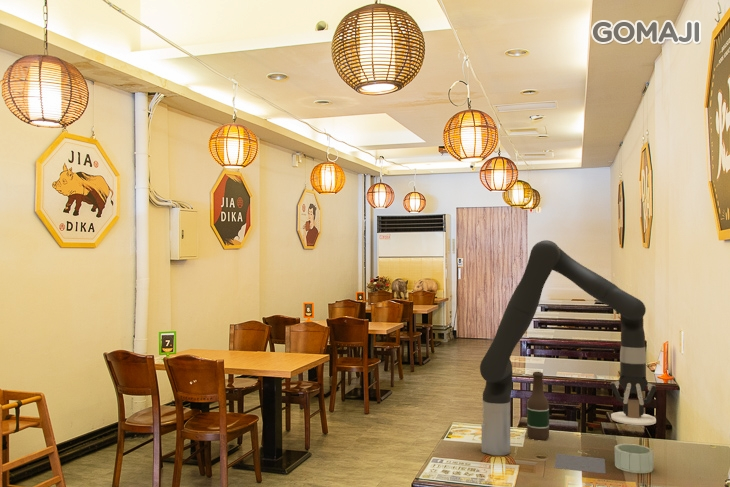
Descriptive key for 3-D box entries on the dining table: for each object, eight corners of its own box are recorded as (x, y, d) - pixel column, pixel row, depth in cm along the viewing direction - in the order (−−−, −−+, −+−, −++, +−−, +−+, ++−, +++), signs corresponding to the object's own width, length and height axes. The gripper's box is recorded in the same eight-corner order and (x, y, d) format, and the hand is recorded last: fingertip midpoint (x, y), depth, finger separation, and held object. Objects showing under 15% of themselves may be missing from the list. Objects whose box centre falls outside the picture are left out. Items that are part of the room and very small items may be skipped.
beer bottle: (550, 441, 226) (549, 374, 227) (527, 440, 228) (527, 373, 228) (548, 435, 234) (547, 370, 234) (526, 434, 235) (526, 370, 236)
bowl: (615, 471, 194) (615, 452, 194) (614, 461, 205) (614, 442, 205) (654, 476, 190) (654, 456, 191) (651, 464, 201) (651, 446, 201)
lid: (611, 423, 194) (611, 403, 194) (610, 413, 206) (610, 394, 206) (658, 427, 189) (657, 407, 190) (654, 416, 202) (653, 398, 202)
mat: (554, 469, 197) (554, 467, 197) (556, 454, 211) (556, 453, 211) (605, 474, 191) (605, 473, 191) (604, 459, 206) (604, 458, 206)
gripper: (609, 361, 197) (609, 416, 197) (658, 364, 192) (659, 420, 192) (608, 357, 204) (609, 411, 204) (656, 360, 199) (656, 415, 199)
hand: (633, 415), depth 198 cm, fingers closed on lid, 3 cm apart
